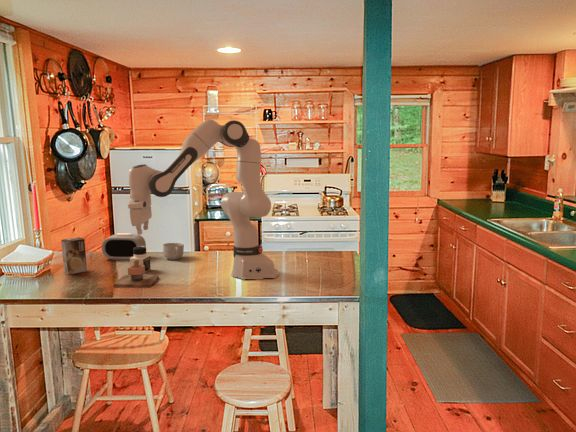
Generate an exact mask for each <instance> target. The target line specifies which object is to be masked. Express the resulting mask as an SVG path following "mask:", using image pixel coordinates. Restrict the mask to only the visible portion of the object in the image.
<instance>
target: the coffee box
mask: <svg viewBox="0 0 576 432" xmlns="http://www.w3.org/2000/svg"><path fill="white" fill-rule="evenodd" d="M61 250H62V251H61V252H62V262H63V263H62V264H63V272H64V273H65V274H67V275H73V274H78V273H79V274H80V273H85V272H88V267H87V255H86V243H85V238H83V237H79V236H78V237H71V238H64V239H61Z"/></svg>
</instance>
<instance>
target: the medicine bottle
mask: <svg viewBox="0 0 576 432" xmlns="http://www.w3.org/2000/svg"><path fill="white" fill-rule="evenodd" d="M133 255H134V256H133V257H131V258H130V260H129V265H130V266H131V265H133V260H139V265H145V272H144V273H143V274H145V273H146V272H148V271H150V270H151V269H152V268H151V267H152V265H151V255H147V246H146V247H144V246H137V247H134V248H133ZM130 266H129V267H130Z"/></svg>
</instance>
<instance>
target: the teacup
mask: <svg viewBox="0 0 576 432" xmlns="http://www.w3.org/2000/svg"><path fill="white" fill-rule="evenodd" d="M184 245H185V244H184V243H179V242H167V243H163V244H162V246H163V247H162V248H163V249H162V251H163V253H162V254H163V256H164V257H165V258H166V260H171V261H172V260H173V261H176V260H180V259H181V258H183V255H184Z"/></svg>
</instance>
